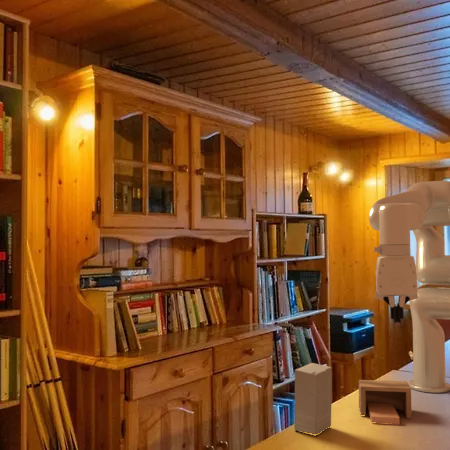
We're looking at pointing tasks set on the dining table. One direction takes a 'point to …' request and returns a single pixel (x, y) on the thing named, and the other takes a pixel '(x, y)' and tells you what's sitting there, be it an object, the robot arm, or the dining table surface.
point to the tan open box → (385, 394)
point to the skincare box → (313, 398)
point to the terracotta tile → (383, 413)
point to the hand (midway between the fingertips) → (396, 321)
